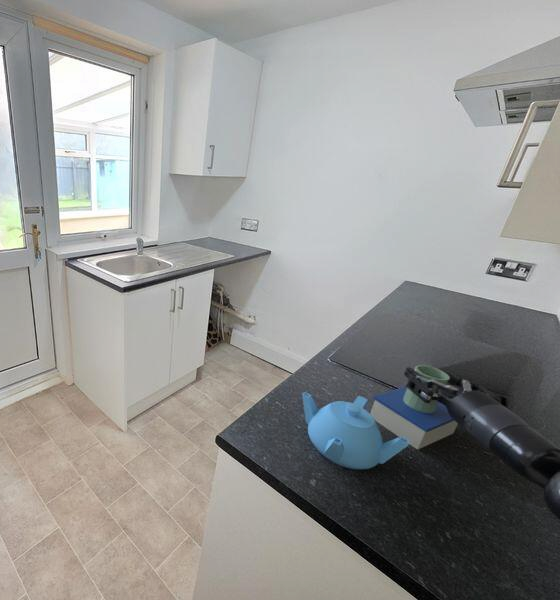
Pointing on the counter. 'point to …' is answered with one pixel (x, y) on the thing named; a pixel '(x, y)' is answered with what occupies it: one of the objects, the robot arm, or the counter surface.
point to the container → (411, 419)
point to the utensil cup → (429, 374)
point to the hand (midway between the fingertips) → (426, 372)
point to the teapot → (348, 434)
